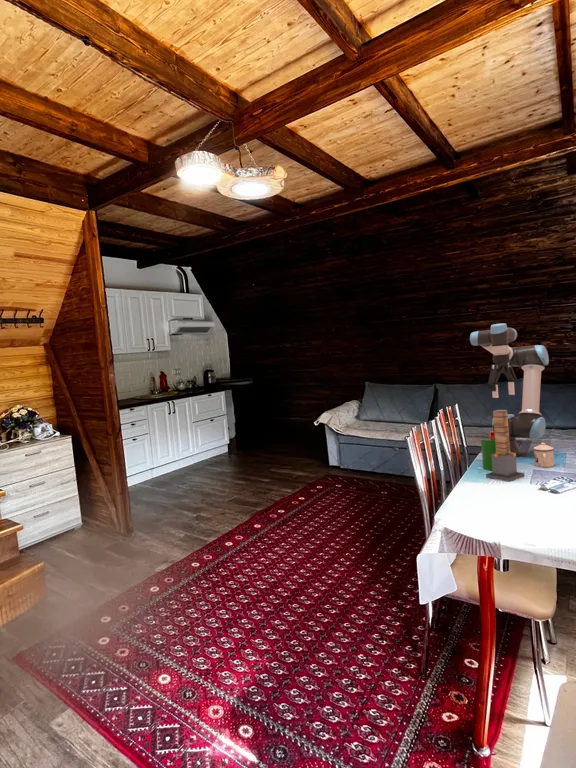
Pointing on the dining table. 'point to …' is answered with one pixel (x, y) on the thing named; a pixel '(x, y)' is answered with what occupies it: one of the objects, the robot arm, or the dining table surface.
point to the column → (501, 432)
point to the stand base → (504, 467)
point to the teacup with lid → (544, 455)
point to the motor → (488, 451)
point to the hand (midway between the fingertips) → (503, 396)
